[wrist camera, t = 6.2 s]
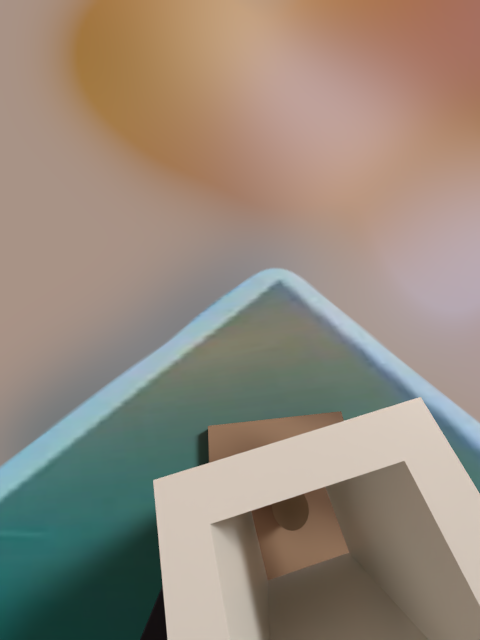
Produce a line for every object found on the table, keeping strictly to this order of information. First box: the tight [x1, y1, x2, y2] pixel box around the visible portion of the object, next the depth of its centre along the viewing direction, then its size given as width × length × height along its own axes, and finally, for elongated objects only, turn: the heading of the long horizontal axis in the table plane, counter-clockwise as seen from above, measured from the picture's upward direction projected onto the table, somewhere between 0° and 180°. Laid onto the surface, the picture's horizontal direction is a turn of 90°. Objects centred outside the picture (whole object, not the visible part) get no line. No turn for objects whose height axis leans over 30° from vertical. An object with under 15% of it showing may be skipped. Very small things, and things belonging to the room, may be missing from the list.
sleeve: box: [153, 397, 480, 640], centre depth 8 cm, size 6×6×10 cm
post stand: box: [208, 412, 349, 580], centre depth 16 cm, size 10×10×4 cm
